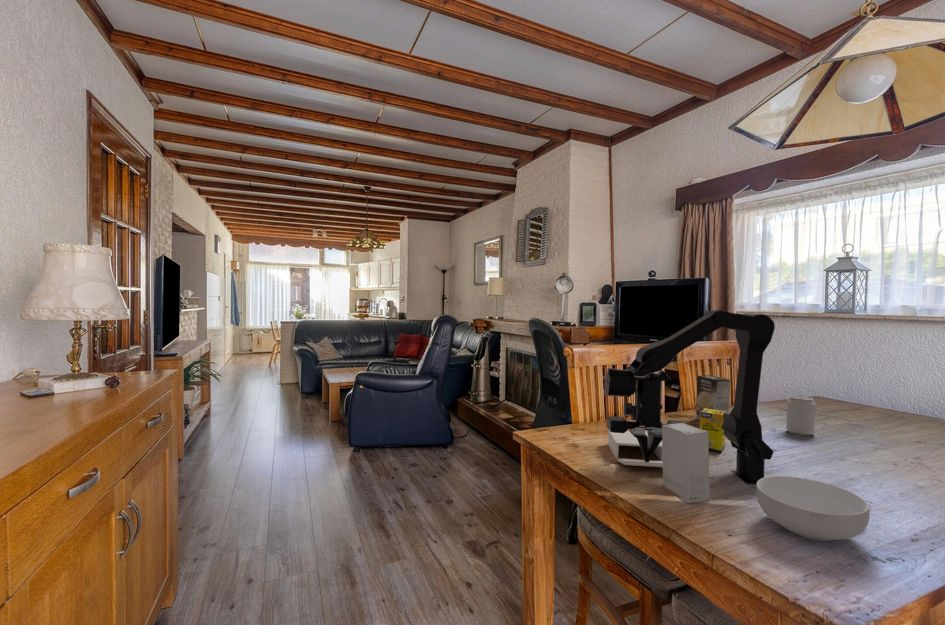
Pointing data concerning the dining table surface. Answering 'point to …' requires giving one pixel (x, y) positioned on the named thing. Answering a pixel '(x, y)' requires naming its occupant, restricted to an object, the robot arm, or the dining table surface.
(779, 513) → the cereal bowl
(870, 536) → the dining table surface
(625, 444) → the carton
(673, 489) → the skincare box
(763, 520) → the dining table surface
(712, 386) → the coffee box
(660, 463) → the flap
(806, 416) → the can
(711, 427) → the supplement box
